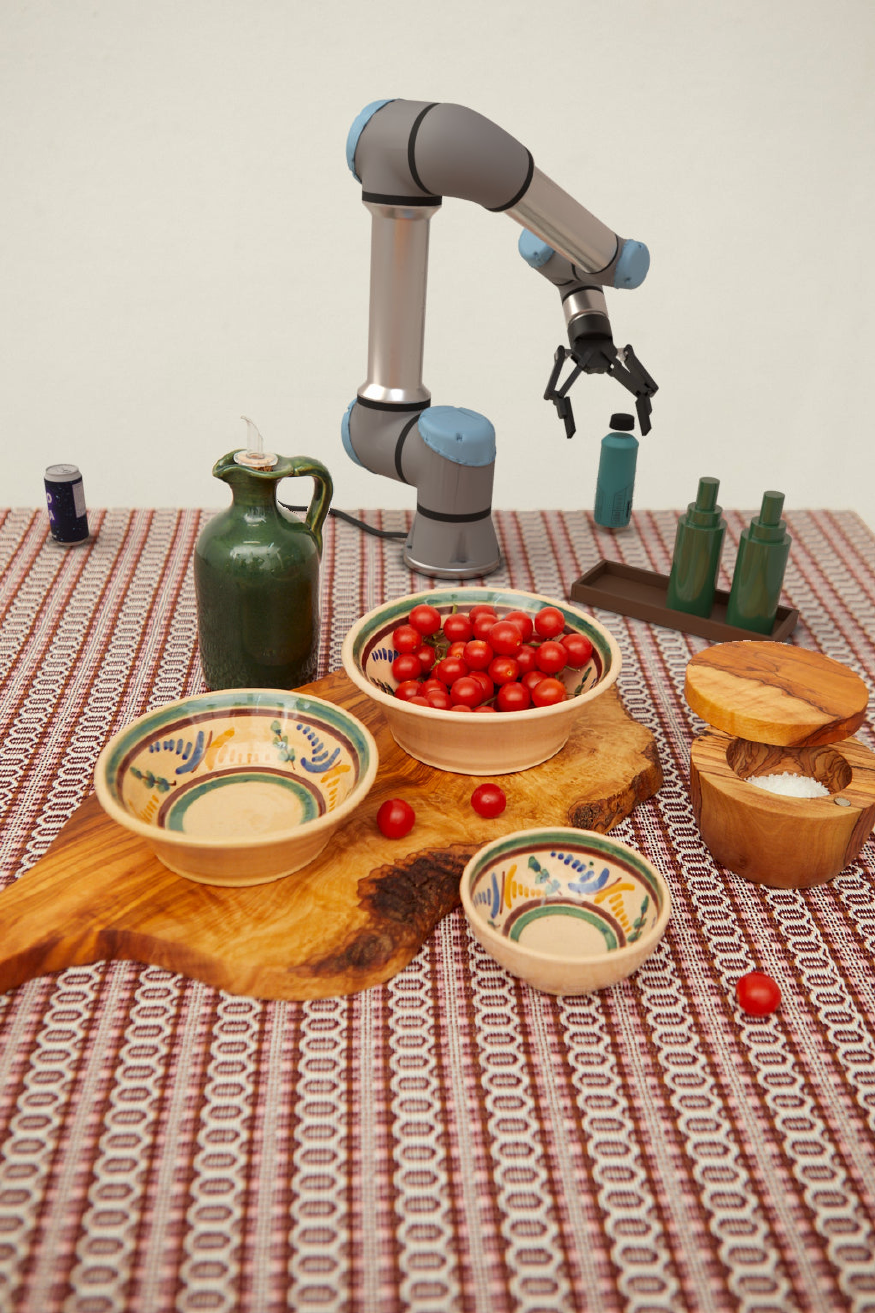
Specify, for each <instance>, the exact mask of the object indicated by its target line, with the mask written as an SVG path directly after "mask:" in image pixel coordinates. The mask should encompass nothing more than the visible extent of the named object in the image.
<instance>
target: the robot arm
mask: <svg viewBox="0 0 875 1313" xmlns="http://www.w3.org/2000/svg"><path fill="white" fill-rule="evenodd" d="M345 157H346V164H347V167H348V170H349V171H350V172H352V173H351V175H352V177H353V179H354V180H355V181H356V182H358V184H360V185H361V203H362V204H363V206H364V207H365V208H366V209H367V211H368V212H369V213H370V215H371V234H370V263H369V264H370V266H369V268H370V270H369V297H368V298H369V302H368V335H367V339H368V340H367V368H366V369H367V371H366V372H367V374H366V380H365V381H364V383H362V384H361V385H360V386H359V387H358V388H357V389H356V390H357V391H356V397H355V398H354V399H353V400H352V401H351V402H350V403H349V404H348V406H347V412H344V413H343V416H342V420H341V425H340V437H341V443H342V446H343V449H344V451H345V453H346V455H347V457H348V458H349V459H350V460H351V461H352V462H353V463H354V464H355V465H357V466H359V467H360V468H363V469H365V470H366V471H368V473H369V472H370V473H372V474H373V475H378V476H382V477H384V478H387V479H391V480H394V481H397V482H399V483H402V484H405V485H408V486H411V487H413V488H416V512H415V515H414V518H413V521H412V524H411V526H410V529H409V531H408V532H401V531H384V530H381V529H377V528H375V527H372V526H370V525H369V524H367V523H365V522H364V521H361V520H359V519H357V518H355V517H353V516H351V515H349V514H347V513H346V512H343V511H341V510H339V509H336V508H333V507H329V508H330V511H329V513H328V514H329V515H330V514H331V515H334V516H337V517H339V518H341V519H343V520H345V521H347V522H348V523H351V524H352V525H354V526H357V527H359V528H361V529H362V530H364V531H365V532H368V533H370V534H372V535H374V536H377V537H381V538H391V539H392V538H393V539H406V540H405V542H404V545H403V562H404V564H405V565H406V566H407V567H408V568H410V569H411V570H413V571H415V572H416V573H419V574H421V575H424V576H427V577H432V578H437V579H443V580H467V579H469V580H470V579H475V578H479V577H483V576H486V575H488V574H491V573H493V572H495V570H497V568H498V567H499V566H500V562H501V561H500V560H501V555H502V554H501V553H502V552H501V551H502V550H501V548H500V544H499V541H498V537H497V534H496V531H495V526H494V523H493V519H492V506H493V493H494V480H495V469H496V468H495V467H496V458H497V446H496V444H497V443H496V438H497V437H496V436H497V435H496V429H495V426H494V424H493V423H492V422H491V420H490V419H488V418H487V417H486V416H485V415H483V414H482V413H479V412H478V411H475V410H473V409H470V408H465V407H460V406H459V407H455V406H454V405H434V406H431V405H432V404H431V403H432V392H431V391H430V389H429V388H428V387H427V386H425V384H424V383H423V375H424V351H425V334H426V317H427V316H426V314H427V297H428V278H429V277H428V274H429V258H430V236H431V220H432V218H433V216H434V215H435V214H437V212H438V211H439V210H440V209H441V208H442V206H443V197H446V198H447V197H448V198H454V199H460V200H463V201H468V202H472V203H475V204H476V205H479V206H481V207H482V208H484V209H485V210H487V211H489V212H490V213H495V214H500V213H503V214H504V215H506V216H508V218H510V219H512V220H513V221H514V222H515V223H517V224H519V225H520V227H522V228H523V229H522V231H521V233H520V234H519V238H518V242H517V248H518V252H519V255H520V256H521V258H522V259H523V260H524V261H525V262H526V263H527V264H528V266H529V267H530V268H532V269H534V270H535V271H537V273H539V274H540V275H541V276H543V277H544V278H545V279H546V280H548V281H549V282H550V283H551V284H552V285H554V286H555V287H556V288H557V289H558V292H559V297H560V300H561V301H560V302H561V306H562V312H563V317H564V322H565V327H566V328H567V329H566V333H567V338H568V343H569V348H565V346H564V345H563V344H559V345H558V346H557V348H556V350H555V352H554V354H553V361H554V364H553V367H552V369H551V370H552V371H551V373H550V376H549V378H548V382H547V384H546V388H545V390H544V393H543V397H542V398H543V400H544V401H552V405H553V406H554V407H555V408H556V413H557V417H558V419H559V420H563V424H564V430H565V436H566V439H567V440H570V439H571V440H572V439H573V437H574V435H575V434H576V432H577V428H576V422H575V418H574V411H573V407H572V402H571V397H570V396H568V395H567V394H568V392H569V390H570V389H571V388H572V386H573V385H574V383H575V382H576V380H577V379H578V378H579V376H580V375H581V374H582V372H583V373H585V374H586V375H594V374H597V375H604V374H605V373H606V375H608V376H609V377H611V378H613V379H615V380H616V381H617V382H618V383H619V384H620V385H622V386H623V388H625V390H627V391H628V392H629V393H631V394H632V395H633V396H634V397H635V398H636V400H635V402H634V404H635V409H636V414H637V419H638V423H639V429H640V433H641V437H646V436H647V435H648V434H649V433H650V432H651V430H652V429H653V427H652V422H651V417H650V415H652V413H653V405H652V401H651V399H652V398H654V396H655V395H656V393H657V392H658V391H659V389H660V387H659V385H658V384H657V382H656V381H655V380H654V378H653V377H652V376H651V374H650V373H649V372H648V370H647V369H646V368H645V366H644V364H642V362H641V361H640V359H639V358H638V357H637V356H636V354H635V351H634V347H633V345H632V344H630V343H627V344H626V345H625V346H623V347H616V345H615V344H614V335H613V331H612V330H613V329H612V326H611V321H610V318H609V317H610V316H609V310H608V306H607V301H606V297H605V292H604V287H609V288H614V289H615V290H620V289H623V290H629V291H630V290H631V291H632V290H635V289H637V288H639V287H640V286H641V285H642V284H643V283H644V282H645V280H646V278H647V275H648V272H649V271H650V270H649V269H650V264H651V254H650V251H649V248H648V246H647V245H646V243H644V242H642V241H638V240H635V239H632V238H623V237H621V236H620V235H618V234H617V233H616V232H615V231H613V230H612V229H611V228H610V227H609V226H607V224H605V223H604V222H602V221H601V219H599V218H598V217H597V216H595V215H594V213H592V211H589V210H588V208H586V207H585V206H584V205H582V203H580V202H579V201H578V200H577V199H575V198H574V197H573V195H571V194H570V193H568V192H567V191H566V190H565V189H563V188H562V187H561V186H560V185H559V184H558V183H557V182H556V181H554V180H553V179H552V178H551V177H549V176H548V175H547V174H546V173H544V172H543V171H542V170H541V169H540V168H539V167H537V166H536V163H535V159H534V156H533V153H532V152H531V151H530V150H529V149H528V147H526V146H525V145H524V144H523V143H521V142H520V141H519V140H518V139H517V138H515V136H513V135H512V134H511V133H509V132H508V131H507V130H506V129H504V128H503V127H501V126H500V125H499V124H497V123H496V122H494V121H493V120H491V119H490V118H488V117H486V116H485V115H484V114H482V113H480V112H478V111H477V110H474V109H472V108H470V107H469V106H465V105H463V104H458V103H454V102H435V101H426V100H425V101H423V100H415V99H413V100H412V99H405V98H400V97H397V98H386V99H378V100H375V101H372V102H371V103H368V104H367V105H366V106H364V107H363V108H362V109H361V111H360V113H359V114H358V115H357V116H356V117H355V118H354V120H353V122H352V123H351V126H350V128H349V131H348V134H347V138H346V144H345ZM617 357H618V358H617ZM568 358H570V360H571V361H572V362H573V363H574V364H575V365H576V366H575V367H574V368H573V370H572V371H571V373H570V374H569V376H567V379H566V380H565V381H564V382H563V384H562V386H561V387H560V388H559V390H556V387H557V384H558V381H559V378H560V375H561V374H562V373H561V372H562V369H563V367H564V364H565V362H567V360H568ZM622 362H623V363H622ZM612 366H613V367H612ZM277 500H278V502H279V503H280V504H281V505H282V506H283V507H286V508H288V509H289V510H290V511H289V512H296V513H297V512H298V513H299V512H300V513H305V512H306V513H307V508H308V506H309V505H291V504H286V503H284V502H282V501H280V500H279V499H277Z"/></svg>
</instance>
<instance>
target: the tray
mask: <svg viewBox="0 0 875 1313" xmlns="http://www.w3.org/2000/svg"><path fill="white" fill-rule="evenodd" d="M669 577H670V575H667V574H664V573H659V572H655V571H653V570H648V569H644V568H640V567H638V566H637V567H636V566H634V565H628V564H625V563H621V562H618V561H614V560H610V559H607V558H603V559H602V560H600V561H599V562H598V563H596V564H595V565H594V566H593V567H591V568H589V570H587V571H586V572H585V573H583V574H582V575H581V576H579V577H578V578H577V579H576V580H575V581H573V582H572V583H571V586H570V587H571V588H570V595H569V600H570V601H574V602H578V603H581V604H585V605H588V606H591V607H595V608H598V609H599V608H600V609H602V610H605V611H609V612H612V613H615V614H620V615H623V616H626V617H630V618H633V619H637V620H640V621H644V622H647V623H651V624H653V625H658V626H661V627H665V628H668V629H672V630H676V631H678V632H683V633H686V634H690V635H693V636H697V637H700V638H703V639H707V640H711V641H714V642H718V643H721V644H723V643H722V642H732V641H743V640H751V641H775V642H784V643H785V641H786V640H787V639H788V638H789V637H790V635H791V633H792V632H793V631H794V630H795V628H796V627H797V625H798V620H799V615H800V609H797V608H793V607H789V606H785V605H781V604H779V605H778V610H777V615H776V620H775V625H774V630H773V633H772V634H771V635H770V636H767V635H763V634H760V633H756V632H752V631H749V630H745V629H742V628H738V627H734V626H731V625H727V624H724V622H725V616H726V611H727V605H728V600H729V594H730V591H728V590H725V589H724V590H723V589H720V588H717V589H716V595H715V600H714V606H713V612H712V615H711V617H710V618H708V619H705V618H702V617H698V616H695V615H691V614H687V613H684V612H680V611H676V610H673V609H669V608H666V607H665V603H666V597H667V590H668V584H669Z"/></svg>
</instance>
